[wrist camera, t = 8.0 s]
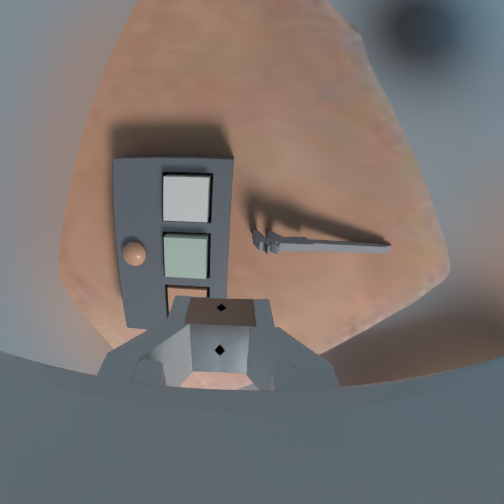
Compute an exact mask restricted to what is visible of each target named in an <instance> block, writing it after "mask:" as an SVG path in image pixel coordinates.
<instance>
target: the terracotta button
mask: <svg viewBox="0 0 504 504" xmlns="http://www.w3.org/2000/svg"><path fill="white" fill-rule="evenodd" d="M167 289H168V305H169V313H170V310H171V307H172V304H173V301H174V298H175V296H176V295H182V296H191V297H192V296H196V297H208V287H200V286H183V285H168V288H167Z"/></svg>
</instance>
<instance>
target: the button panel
mask: <svg viewBox="0 0 504 504" xmlns="http://www.w3.org/2000/svg"><path fill="white" fill-rule="evenodd" d="M233 162H234V157H216V156H181V155H142V156H122V157H118V158H113V198H114V219H115V234H116V246H117V257H118V267H119V276H120V284H121V291H122V298H123V305H124V312H125V318H126V324H127V327H129V328H139V329H148V330H149V329H150V328H152V327H154V326H156V325H157V324H159V323H161V322H167V319H168V316H169V305H168V289H167V288H168V285H183V286H200V287H208V297H209V298H222V299H226V294H227V270H228V249H229V229H230V211H231V194H232V178H233ZM169 173H186V174H211V188H210V213H209V218H208V221H207V222H186V221H163V178H164V176H165V175H167V174H169ZM167 232H191V233H209V246H208V271H207V277H206V279H197V278H179V277H165V260H164V236H165V235H166V233H167Z"/></svg>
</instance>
